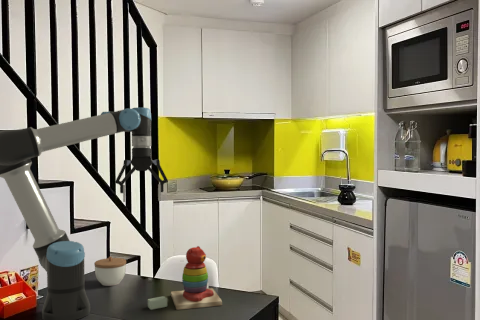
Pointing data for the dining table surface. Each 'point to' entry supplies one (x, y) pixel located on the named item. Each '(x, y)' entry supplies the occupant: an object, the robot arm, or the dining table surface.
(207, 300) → the birch board
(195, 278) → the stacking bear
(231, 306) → the dining table surface
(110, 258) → the lidded bowl
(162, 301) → the sage brick
